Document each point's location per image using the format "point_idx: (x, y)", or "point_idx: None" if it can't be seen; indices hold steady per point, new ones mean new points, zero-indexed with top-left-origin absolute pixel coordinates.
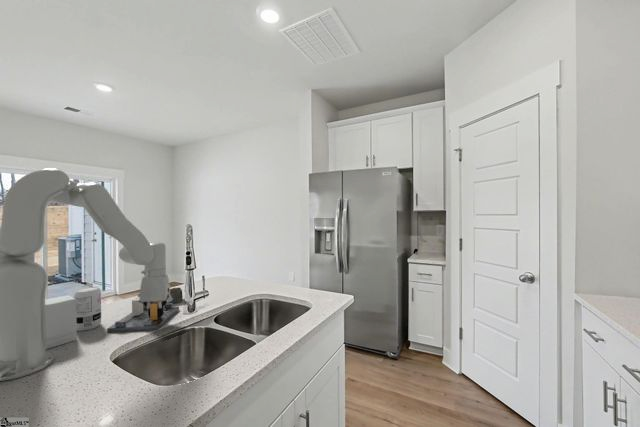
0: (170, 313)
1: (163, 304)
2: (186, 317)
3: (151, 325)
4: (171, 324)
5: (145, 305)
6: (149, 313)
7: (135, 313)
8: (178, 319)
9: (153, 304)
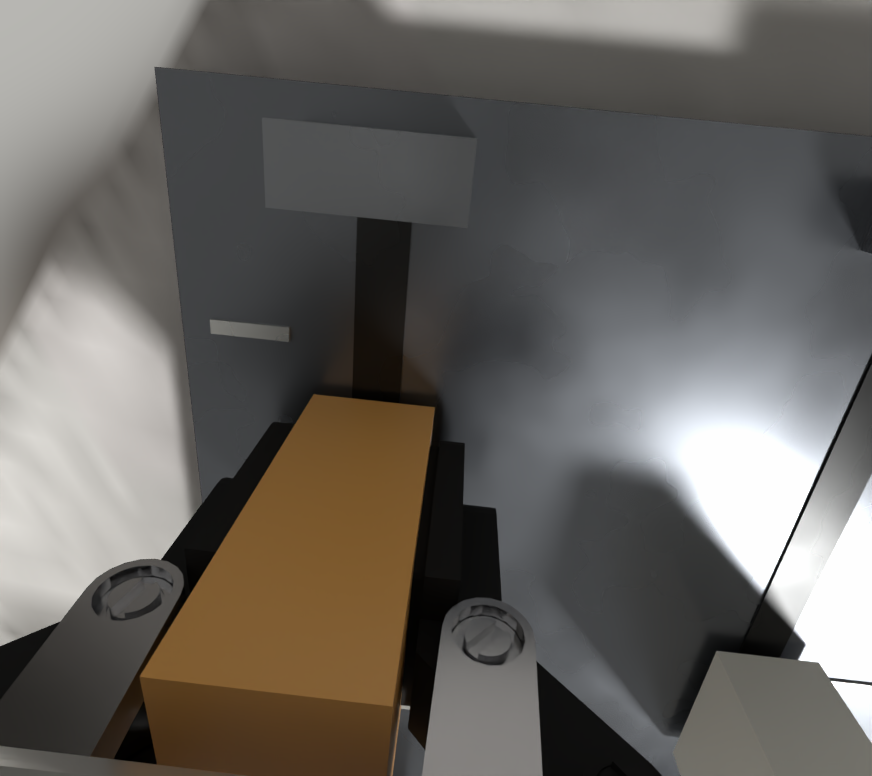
0: None
1: (20, 662)
2: (7, 516)
3: (298, 116)
4: (80, 294)
5: (591, 724)
6: (453, 501)
7: (782, 688)
8: (85, 472)
9: (270, 666)
